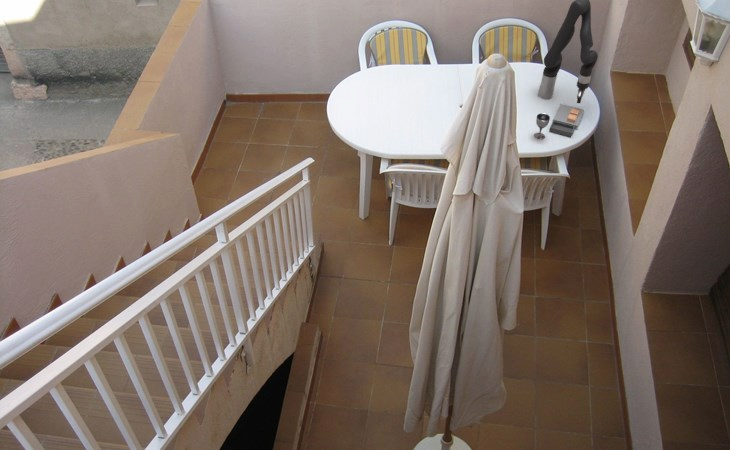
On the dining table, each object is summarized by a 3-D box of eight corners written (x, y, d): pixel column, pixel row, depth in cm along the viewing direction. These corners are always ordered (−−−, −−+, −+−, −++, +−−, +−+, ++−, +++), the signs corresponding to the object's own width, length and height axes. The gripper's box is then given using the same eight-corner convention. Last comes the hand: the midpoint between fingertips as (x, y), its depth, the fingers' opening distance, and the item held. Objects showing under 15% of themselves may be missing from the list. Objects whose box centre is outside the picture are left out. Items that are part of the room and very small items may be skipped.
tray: (549, 131, 441) (550, 127, 438) (552, 123, 446) (553, 119, 444) (570, 137, 436) (571, 133, 434) (574, 129, 442) (575, 125, 440)
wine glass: (531, 132, 440) (535, 113, 430) (543, 131, 441) (547, 112, 430) (534, 140, 435) (538, 121, 424) (547, 139, 435) (551, 120, 424)
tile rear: (569, 115, 447) (569, 112, 446) (571, 111, 451) (571, 108, 449) (576, 117, 446) (577, 114, 444) (578, 113, 449) (579, 110, 447)
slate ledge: (552, 123, 447) (552, 119, 445) (559, 107, 459) (560, 103, 457) (576, 129, 442) (577, 125, 440) (583, 113, 454) (584, 109, 452)
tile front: (566, 121, 443) (567, 118, 442) (568, 116, 446) (569, 113, 445) (574, 123, 442) (575, 119, 440) (576, 118, 445) (577, 115, 443)
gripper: (580, 73, 442) (575, 96, 454) (575, 84, 434) (570, 106, 446) (592, 75, 440) (586, 98, 452) (587, 86, 431) (582, 109, 444)
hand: (578, 102), depth 449 cm, fingers closed
